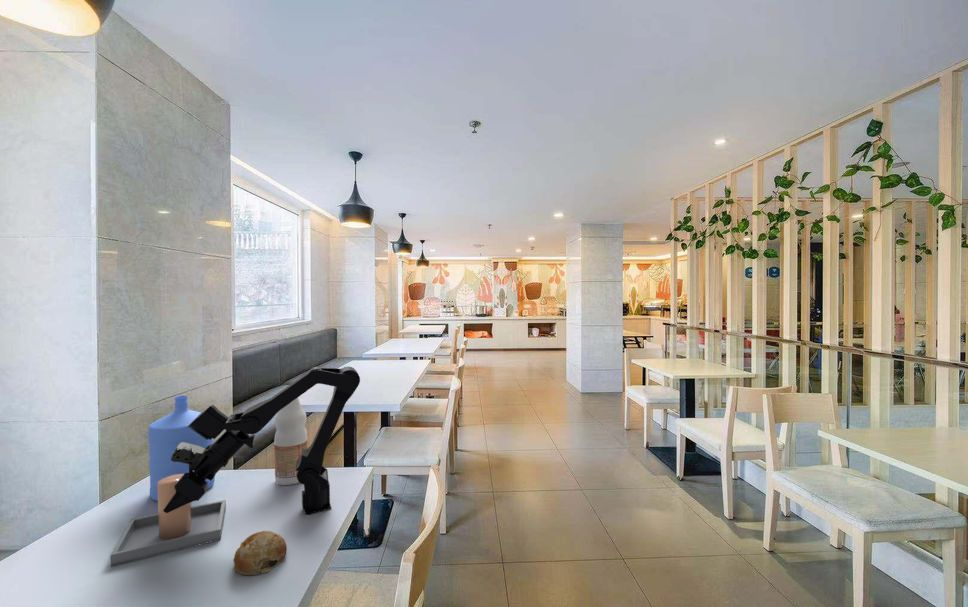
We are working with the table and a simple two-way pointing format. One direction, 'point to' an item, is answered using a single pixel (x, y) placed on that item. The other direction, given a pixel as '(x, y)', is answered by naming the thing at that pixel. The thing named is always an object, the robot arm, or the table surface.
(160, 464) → the water jug
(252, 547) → the bread roll
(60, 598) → the table surface
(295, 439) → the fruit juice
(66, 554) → the table surface
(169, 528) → the peach rounded cylinder
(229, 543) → the table surface
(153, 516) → the grey tray
